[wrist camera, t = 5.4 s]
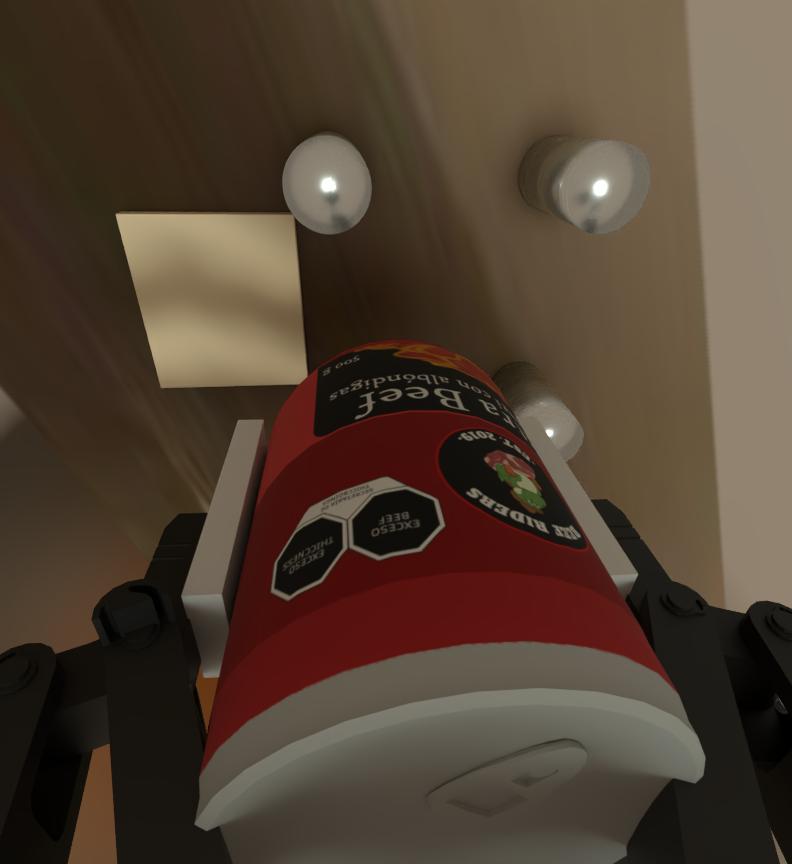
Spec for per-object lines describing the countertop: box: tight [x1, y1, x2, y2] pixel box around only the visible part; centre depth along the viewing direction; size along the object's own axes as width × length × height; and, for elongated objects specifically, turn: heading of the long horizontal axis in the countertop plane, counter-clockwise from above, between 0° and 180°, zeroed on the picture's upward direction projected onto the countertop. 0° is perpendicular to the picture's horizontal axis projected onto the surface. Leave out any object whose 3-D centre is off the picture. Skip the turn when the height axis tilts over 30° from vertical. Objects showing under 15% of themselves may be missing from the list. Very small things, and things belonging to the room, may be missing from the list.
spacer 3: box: [518, 136, 651, 234], centre depth 24 cm, size 4×4×7 cm
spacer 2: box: [492, 362, 584, 462], centre depth 31 cm, size 4×4×7 cm
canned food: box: [194, 339, 706, 864], centre depth 12 cm, size 8×8×11 cm
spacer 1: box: [282, 131, 372, 234], centre depth 23 cm, size 4×4×7 cm
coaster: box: [116, 212, 308, 388], centre depth 29 cm, size 10×9×1 cm
